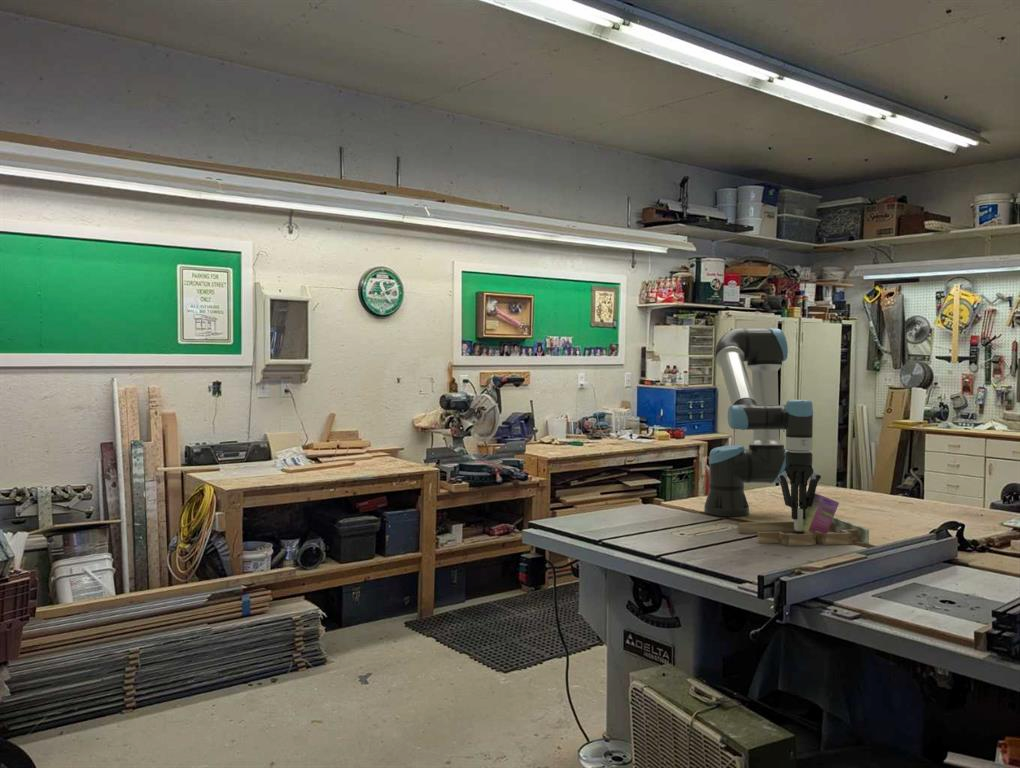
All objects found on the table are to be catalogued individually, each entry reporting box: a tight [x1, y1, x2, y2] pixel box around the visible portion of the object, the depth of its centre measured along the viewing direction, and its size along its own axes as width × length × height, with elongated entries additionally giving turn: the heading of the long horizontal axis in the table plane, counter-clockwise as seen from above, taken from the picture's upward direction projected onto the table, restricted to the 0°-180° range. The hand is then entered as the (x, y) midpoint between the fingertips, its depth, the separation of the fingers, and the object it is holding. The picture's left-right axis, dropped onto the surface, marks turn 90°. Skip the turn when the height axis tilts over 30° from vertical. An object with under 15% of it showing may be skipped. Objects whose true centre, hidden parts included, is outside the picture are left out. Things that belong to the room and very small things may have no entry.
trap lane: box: [737, 516, 870, 547], centre depth 228 cm, size 19×31×4 cm, turn 96°
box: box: [802, 492, 840, 533], centre depth 230 cm, size 10×6×12 cm, turn 2°
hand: (798, 530), depth 229 cm, fingers closed
